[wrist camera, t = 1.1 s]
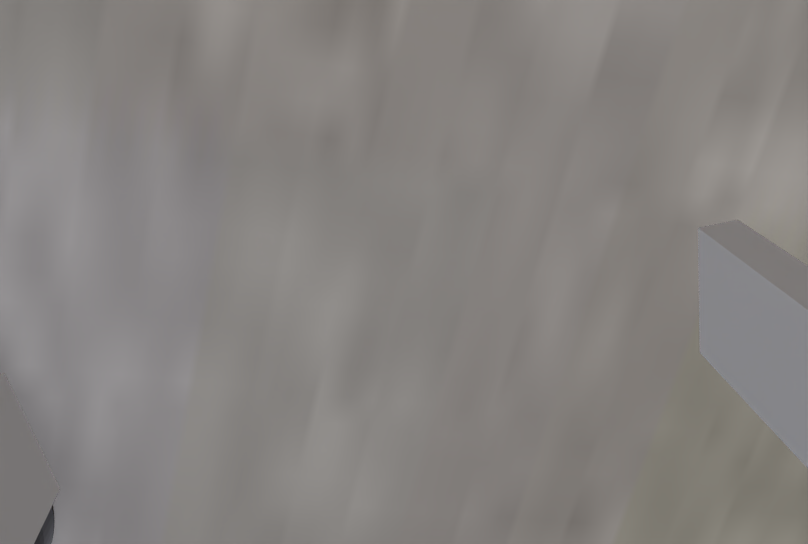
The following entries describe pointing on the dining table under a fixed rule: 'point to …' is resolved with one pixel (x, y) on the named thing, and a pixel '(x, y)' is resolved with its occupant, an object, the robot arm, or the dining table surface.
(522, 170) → the dining table surface
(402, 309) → the dining table surface
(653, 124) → the dining table surface
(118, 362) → the dining table surface
